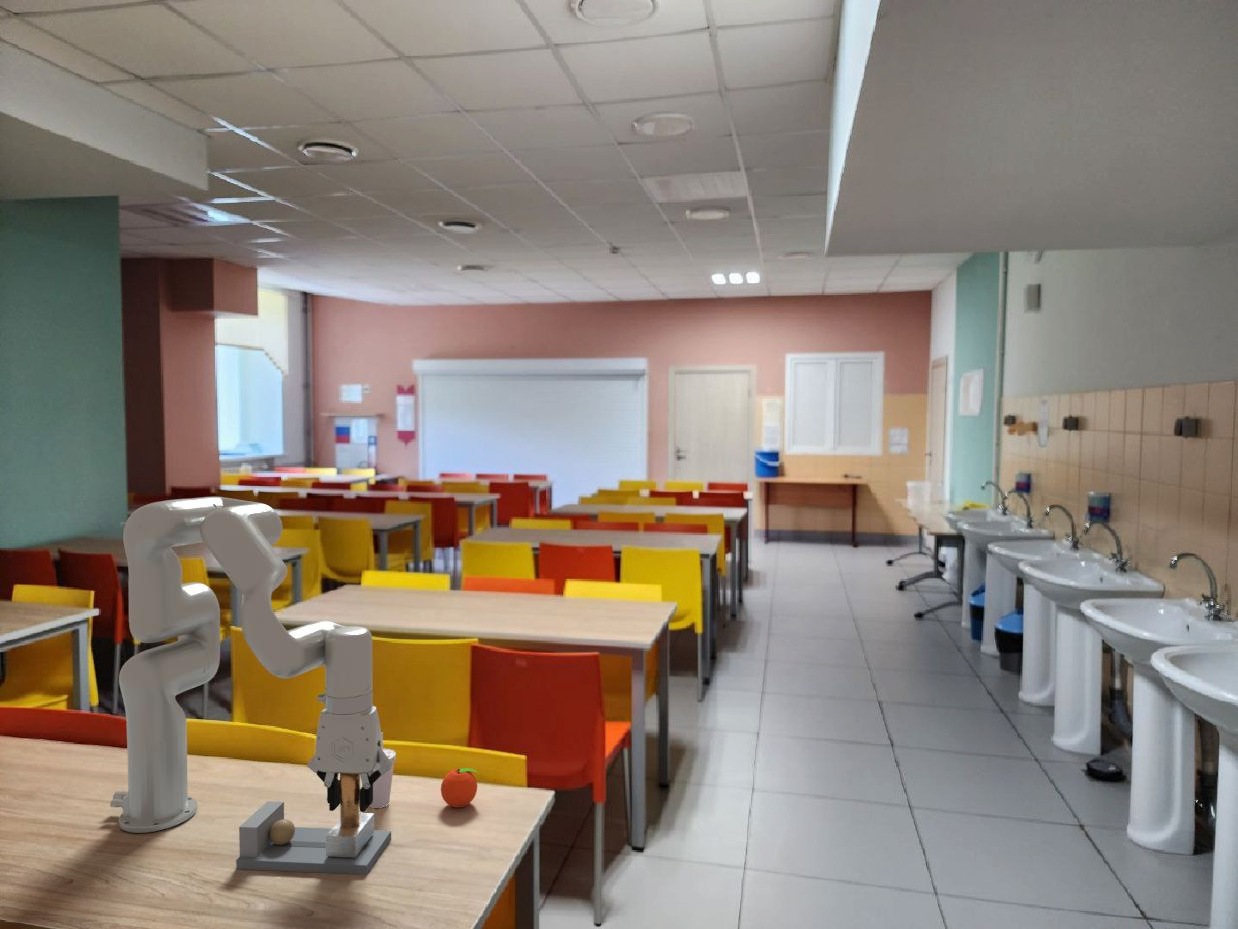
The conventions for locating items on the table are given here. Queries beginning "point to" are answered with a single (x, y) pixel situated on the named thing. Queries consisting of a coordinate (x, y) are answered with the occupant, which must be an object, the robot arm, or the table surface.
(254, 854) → the frame
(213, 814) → the table surface
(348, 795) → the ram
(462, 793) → the clementine
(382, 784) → the smoothie
